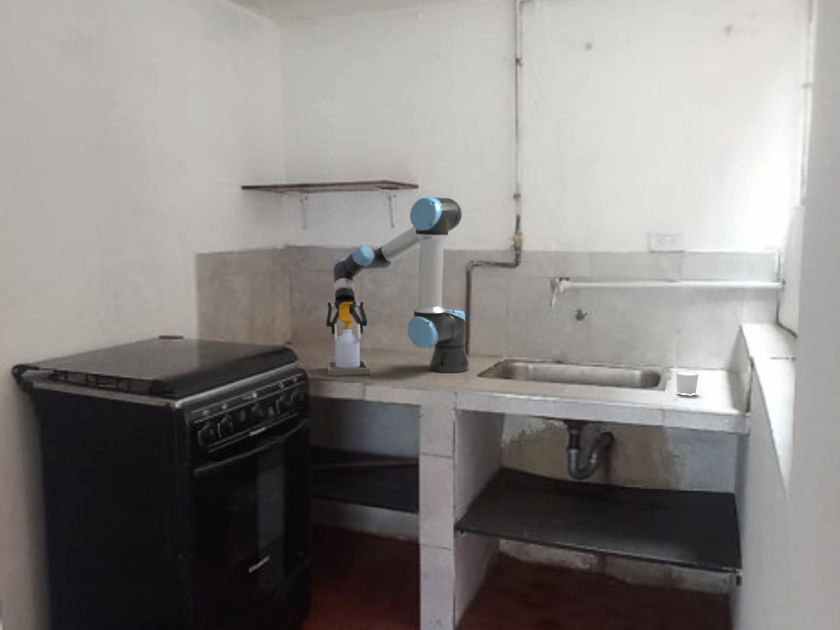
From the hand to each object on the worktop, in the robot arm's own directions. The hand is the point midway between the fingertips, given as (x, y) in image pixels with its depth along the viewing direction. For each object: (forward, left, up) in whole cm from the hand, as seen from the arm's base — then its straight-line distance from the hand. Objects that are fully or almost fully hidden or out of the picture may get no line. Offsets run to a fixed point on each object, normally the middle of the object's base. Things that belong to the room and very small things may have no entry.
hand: (348, 340), depth 263 cm
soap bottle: (0, -3, -11) cm, 11 cm away
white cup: (-107, +51, -13) cm, 119 cm away
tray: (0, -3, -13) cm, 13 cm away
